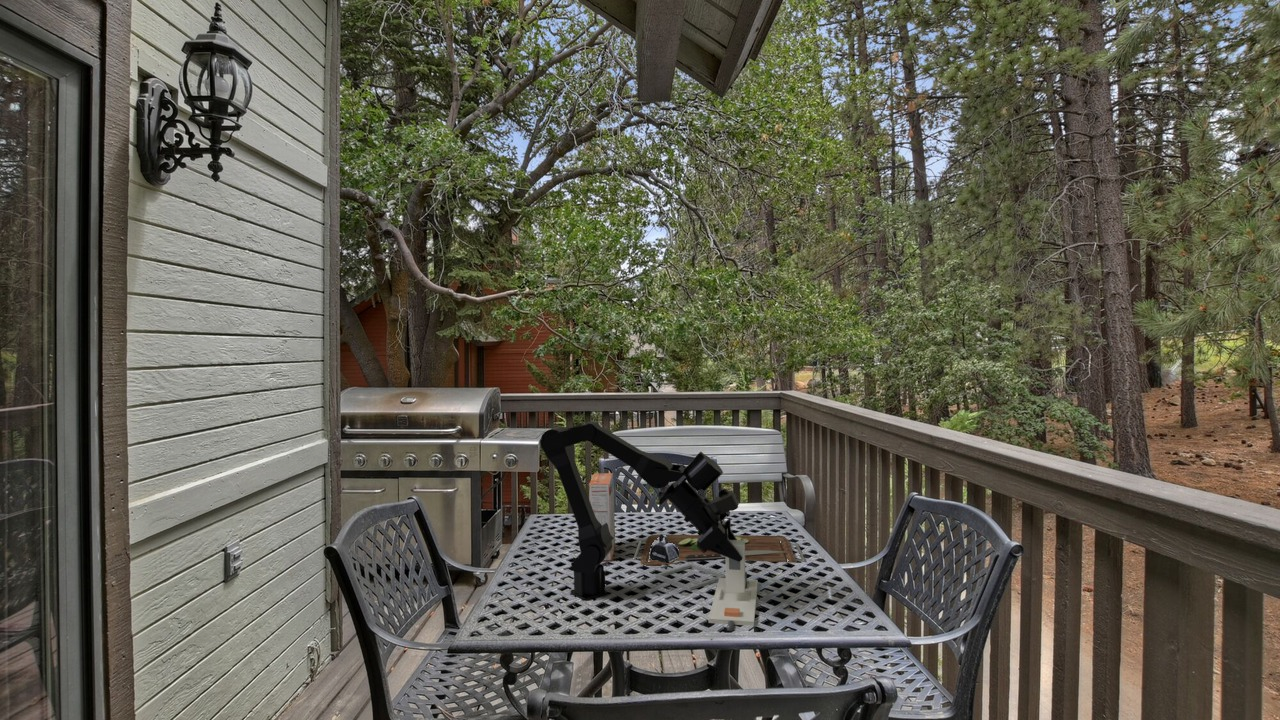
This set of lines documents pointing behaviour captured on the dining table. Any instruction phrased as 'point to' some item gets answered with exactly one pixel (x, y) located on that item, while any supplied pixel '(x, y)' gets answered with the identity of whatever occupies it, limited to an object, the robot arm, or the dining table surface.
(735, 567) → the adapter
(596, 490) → the cracker box
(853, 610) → the dining table surface
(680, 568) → the tray
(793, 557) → the chopping board
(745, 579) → the black plug
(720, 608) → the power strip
